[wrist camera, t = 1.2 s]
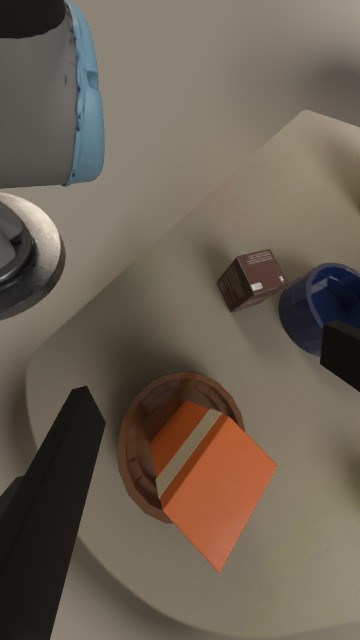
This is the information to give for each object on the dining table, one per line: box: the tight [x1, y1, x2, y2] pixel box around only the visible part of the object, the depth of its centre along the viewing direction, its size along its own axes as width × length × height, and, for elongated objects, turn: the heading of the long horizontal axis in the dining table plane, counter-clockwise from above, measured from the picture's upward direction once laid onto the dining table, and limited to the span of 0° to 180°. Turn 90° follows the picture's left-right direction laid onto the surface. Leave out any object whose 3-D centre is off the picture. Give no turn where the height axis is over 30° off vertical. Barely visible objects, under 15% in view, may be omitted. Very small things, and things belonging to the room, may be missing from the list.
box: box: [217, 249, 288, 312], centre depth 30 cm, size 6×6×7 cm
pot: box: [279, 263, 360, 357], centre depth 32 cm, size 15×15×6 cm
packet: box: [150, 400, 277, 572], centre depth 18 cm, size 5×7×13 cm
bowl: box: [117, 371, 245, 524], centre depth 23 cm, size 15×15×4 cm
